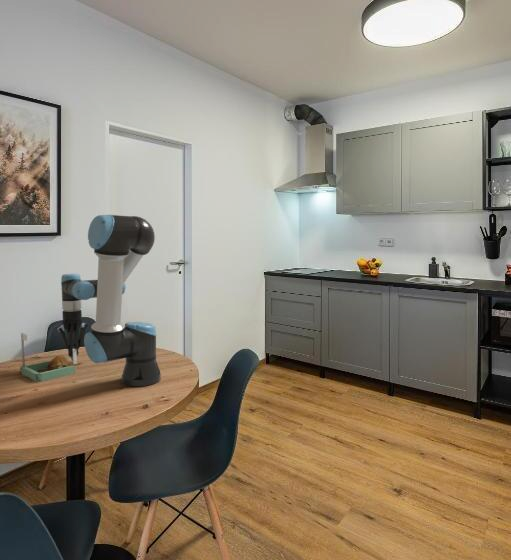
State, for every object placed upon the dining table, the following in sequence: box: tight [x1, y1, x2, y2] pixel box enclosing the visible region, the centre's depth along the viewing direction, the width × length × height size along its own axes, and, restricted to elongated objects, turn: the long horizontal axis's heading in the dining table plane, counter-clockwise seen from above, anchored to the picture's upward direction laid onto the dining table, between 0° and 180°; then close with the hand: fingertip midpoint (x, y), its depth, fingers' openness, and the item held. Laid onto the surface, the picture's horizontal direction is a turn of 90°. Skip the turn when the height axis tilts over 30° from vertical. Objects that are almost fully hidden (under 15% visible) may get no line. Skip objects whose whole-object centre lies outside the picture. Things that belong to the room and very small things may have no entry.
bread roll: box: [47, 355, 75, 371], centre depth 177 cm, size 10×10×8 cm
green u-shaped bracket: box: [19, 332, 76, 383], centre depth 172 cm, size 16×15×17 cm
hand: (73, 363), depth 181 cm, fingers closed
